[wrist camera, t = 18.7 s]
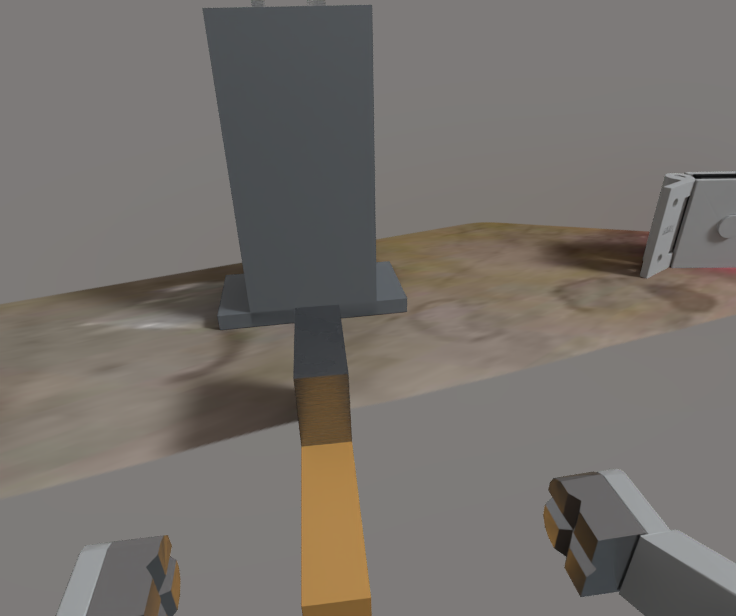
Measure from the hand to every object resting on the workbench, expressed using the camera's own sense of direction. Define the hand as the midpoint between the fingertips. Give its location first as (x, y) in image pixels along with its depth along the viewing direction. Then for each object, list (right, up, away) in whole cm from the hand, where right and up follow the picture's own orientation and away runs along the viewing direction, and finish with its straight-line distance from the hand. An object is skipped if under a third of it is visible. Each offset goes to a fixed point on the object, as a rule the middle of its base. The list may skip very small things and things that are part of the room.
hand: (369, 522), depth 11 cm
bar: (-2, -7, +20) cm, 21 cm away
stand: (-6, +5, +42) cm, 42 cm away
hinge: (+36, +9, +47) cm, 60 cm away
